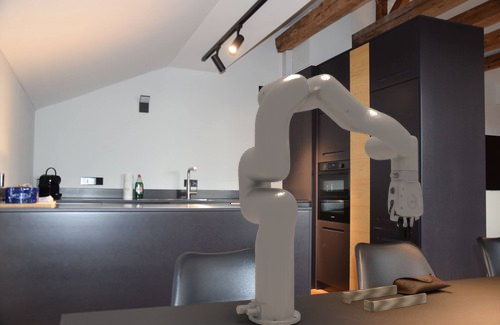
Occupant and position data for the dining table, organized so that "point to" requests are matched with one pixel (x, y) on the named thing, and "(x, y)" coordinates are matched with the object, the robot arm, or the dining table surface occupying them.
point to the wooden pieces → (382, 304)
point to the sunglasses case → (419, 284)
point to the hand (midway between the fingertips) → (405, 240)
